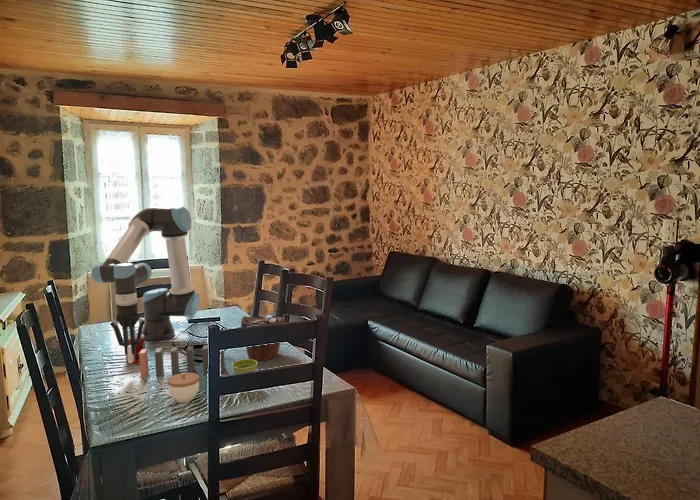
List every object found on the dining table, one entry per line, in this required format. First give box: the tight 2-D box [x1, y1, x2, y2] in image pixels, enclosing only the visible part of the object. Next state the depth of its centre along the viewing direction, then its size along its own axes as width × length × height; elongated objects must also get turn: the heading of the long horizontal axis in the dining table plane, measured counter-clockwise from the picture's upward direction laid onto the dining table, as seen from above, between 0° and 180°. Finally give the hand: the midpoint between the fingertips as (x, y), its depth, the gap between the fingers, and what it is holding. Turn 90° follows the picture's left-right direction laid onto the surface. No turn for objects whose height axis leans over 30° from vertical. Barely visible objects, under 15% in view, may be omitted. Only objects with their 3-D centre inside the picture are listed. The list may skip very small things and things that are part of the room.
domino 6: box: [220, 350, 226, 373], centre depth 214 cm, size 5×2×10 cm, turn 10°
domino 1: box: [139, 348, 150, 379], centre depth 209 cm, size 5×2×10 cm, turn 9°
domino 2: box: [154, 347, 165, 378], centre depth 210 cm, size 5×2×10 cm, turn 10°
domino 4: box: [186, 345, 196, 373], centre depth 212 cm, size 5×2×10 cm, turn 9°
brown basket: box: [240, 315, 285, 361], centre depth 230 cm, size 18×20×18 cm
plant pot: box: [231, 358, 258, 374], centre depth 198 cm, size 9×9×9 cm
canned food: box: [125, 332, 146, 365], centre depth 225 cm, size 8×8×11 cm
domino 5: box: [201, 344, 209, 374], centre depth 213 cm, size 5×2×10 cm, turn 9°
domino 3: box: [170, 346, 180, 376], centre depth 211 cm, size 5×2×10 cm, turn 9°
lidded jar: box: [167, 372, 200, 403], centre depth 187 cm, size 11×11×9 cm
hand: (131, 361), depth 208 cm, fingers closed
